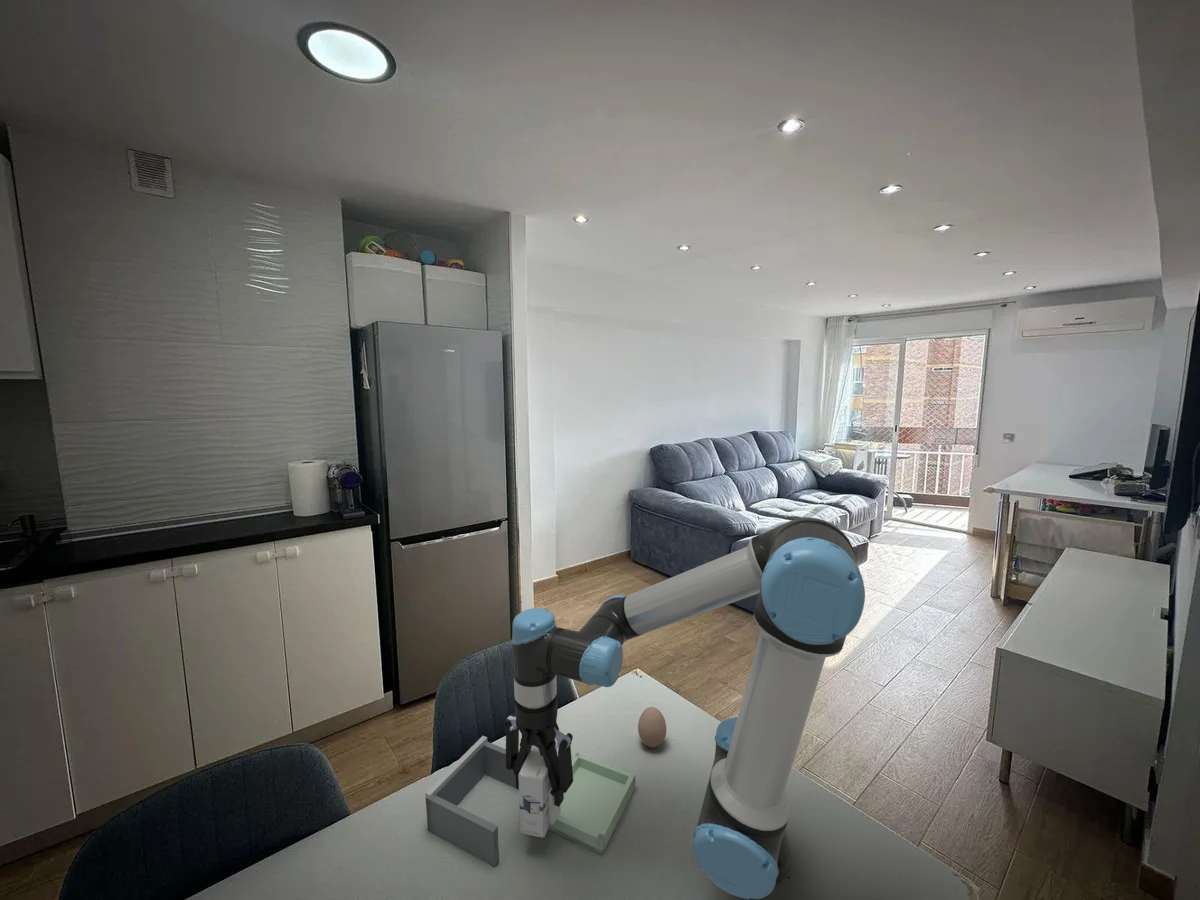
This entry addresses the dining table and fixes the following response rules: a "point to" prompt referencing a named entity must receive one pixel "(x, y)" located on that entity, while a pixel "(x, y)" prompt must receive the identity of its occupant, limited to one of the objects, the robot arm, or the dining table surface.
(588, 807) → the tray
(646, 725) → the egg
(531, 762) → the ink box
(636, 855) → the dining table surface
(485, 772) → the dock
